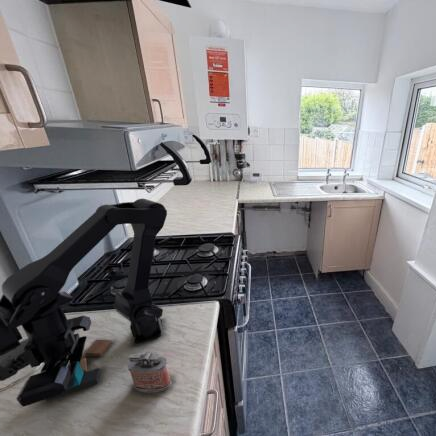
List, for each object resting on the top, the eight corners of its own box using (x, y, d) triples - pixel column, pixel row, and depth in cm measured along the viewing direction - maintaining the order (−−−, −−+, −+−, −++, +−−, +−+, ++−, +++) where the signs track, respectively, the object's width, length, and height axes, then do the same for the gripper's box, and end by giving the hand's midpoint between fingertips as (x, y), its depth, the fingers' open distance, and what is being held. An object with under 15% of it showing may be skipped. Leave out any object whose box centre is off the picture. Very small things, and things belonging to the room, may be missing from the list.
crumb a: (87, 360, 59) (85, 357, 59) (87, 373, 56) (85, 369, 56) (65, 370, 57) (64, 366, 56) (64, 383, 54) (63, 380, 53)
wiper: (101, 371, 57) (95, 356, 55) (98, 383, 54) (91, 367, 52) (52, 387, 53) (43, 371, 51) (46, 400, 50) (37, 384, 48)
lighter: (174, 377, 56) (167, 348, 52) (167, 392, 53) (159, 362, 49) (139, 377, 56) (130, 348, 52) (131, 392, 53) (120, 362, 49)
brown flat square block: (112, 343, 64) (110, 339, 63) (101, 356, 60) (99, 353, 60) (97, 342, 64) (95, 339, 63) (85, 356, 60) (84, 353, 60)
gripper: (18, 308, 51) (43, 358, 57) (-48, 390, 36) (-4, 446, 42) (82, 295, 56) (100, 342, 62) (48, 362, 40) (76, 416, 46)
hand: (72, 379), depth 53 cm, fingers closed on wiper, 3 cm apart
